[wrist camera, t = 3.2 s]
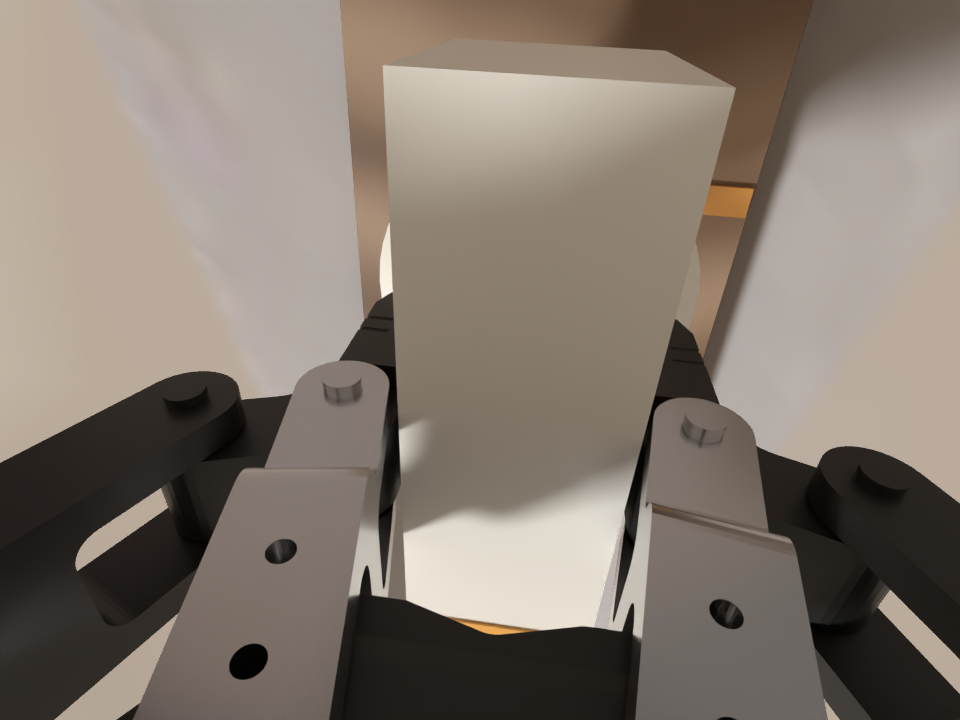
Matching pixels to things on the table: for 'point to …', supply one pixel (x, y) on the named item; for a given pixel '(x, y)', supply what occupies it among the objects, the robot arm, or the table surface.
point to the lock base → (586, 22)
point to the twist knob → (534, 307)
